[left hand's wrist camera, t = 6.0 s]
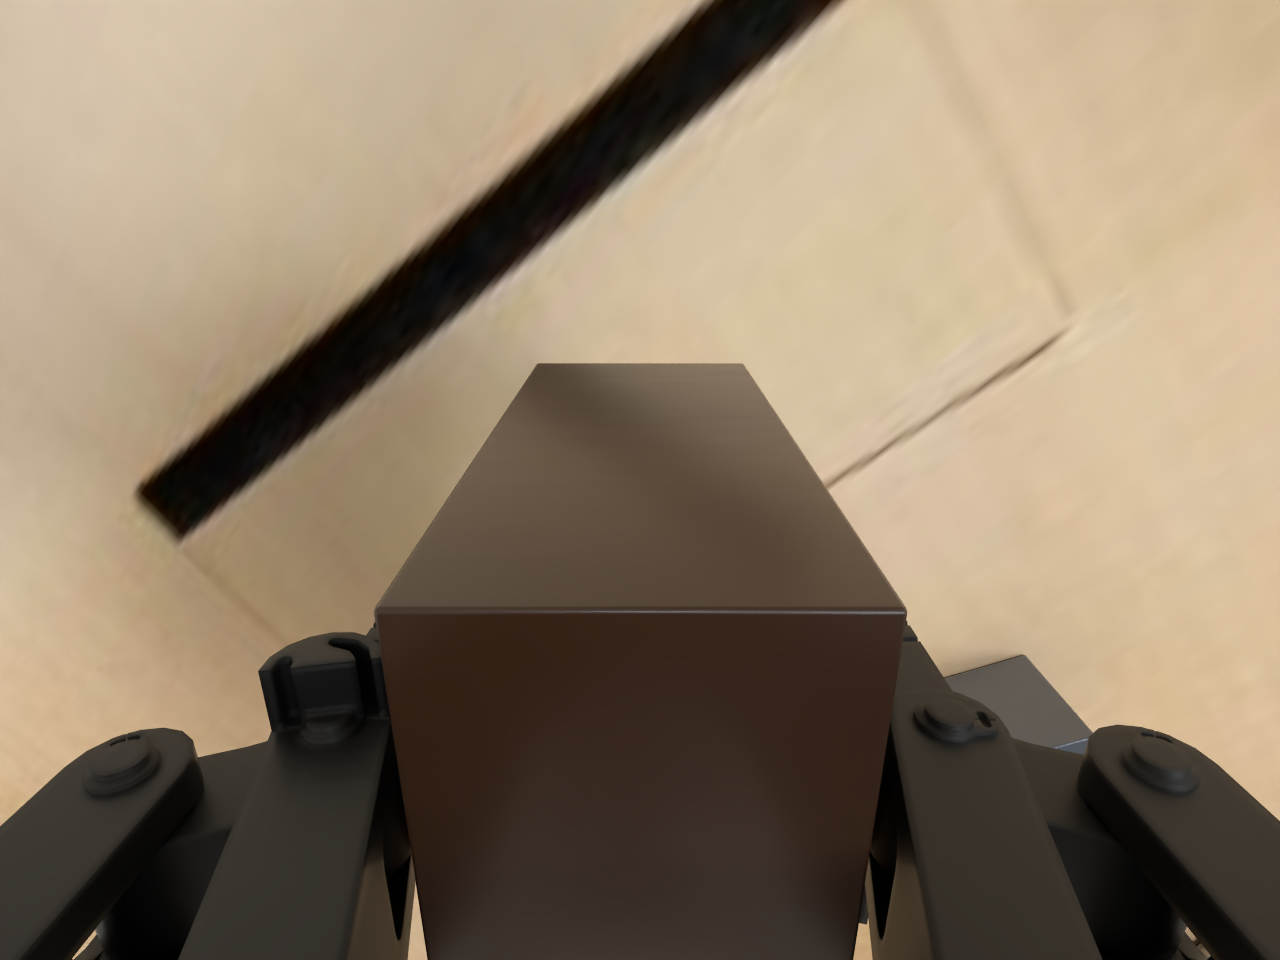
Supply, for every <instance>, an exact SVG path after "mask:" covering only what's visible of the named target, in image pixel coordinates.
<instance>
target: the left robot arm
mask: <svg viewBox="0 0 1280 960" xmlns="http://www.w3.org/2000/svg"><path fill="white" fill-rule="evenodd" d="M258 672H259V677H260V681H261V686H262V690H263V694H264V699H265V703H266V708H267V712H268V716H269V721H270V725H271V730H272V732H271V734H270V737H269V739H268V741H266V742H263V743H259V744H256V745H252V746H249V747H244V748H240V749H235V750H231V751H226V752H221V753H217V754H212V755H207V756H203V757H197V753H196V750H195V746H194V743H193V740H192V739H191V738H190V737H189V736H187V735H186V734H185V733H184V732H183V731H179V730H174V729H168V728H156V729H146V730H139V731H136V732H131V733H128V734H126V735H125V734H124V735H121V736H118V737H115V738H112V739H110V740H109V741H106V742H104V743H102V744H100V745H98V746H96V747H94V748H92V749H90V750H88V751H86V752H85V753H84V754H82V755H81V756H79V757H78V758H77V759H75V760H74V761H73V762H71V763H70V764H69V765H67V766H66V767H64V768H63V769H62V770H61V771H60V772H59V773H58V774H57V775H56V776H55V777H54V778H52V779H51V780H50V781H49V782H48V783H47V784H46V785H45V786H44V787H43V788H42V789H41V790H39V791H38V792H37V793H36V794H35V795H34V796H33V797H32V798H31V799H30V800H29V801H27V802H26V803H25V804H24V805H23V806H22V807H21V808H20V809H19V810H18V811H17V812H16V813H14V814H13V815H12V816H11V817H10V818H9V819H8V820H7V821H6V822H5V823H4V824H2V825H1V826H0V960H72V958H73V956H74V955H75V954H76V953H77V951H78V950H79V949H80V948H81V946H82V945H83V944H84V943H85V941H86V940H87V939H88V938H89V936H90V935H91V934H92V933H93V931H94V930H95V931H96V933H97V935H96V936H95V937H94V939H93V940H92V941H91V942H90V944H89V945H88V946H87V947H86V949H85V950H83V951H82V952H81V953H80V954H79V955H78V956H77V957H76V958H75V959H74V960H407V958H408V949H409V939H410V929H411V919H412V910H413V900H414V890H415V874H414V867H413V861H412V854H411V848H410V841H409V835H408V828H407V822H406V815H405V809H404V802H403V796H402V789H401V783H400V776H399V770H398V763H397V757H396V750H395V744H394V737H393V731H392V724H391V718H390V711H389V705H388V698H387V692H386V686H385V679H384V673H383V666H382V660H381V653H380V647H379V640H378V634H377V627H376V621H375V623H374V627H373V628H371V629H370V631H369V632H368V634H367V635H366V636H365V635H361V634H358V633H354V632H341V633H328V634H323V635H318V636H313V637H309V638H306V639H303V640H301V641H298V642H296V643H293V644H291V645H288V646H286V647H285V648H283V649H282V650H280V651H279V652H277V653H276V654H274V655H273V656H271V657H270V658H269V659H268V660H267V661H266V662H265V664H264V665H263V666H262V667H261V668H260V670H259V671H258ZM868 918H869V928H870V937H871V947H872V957H873V960H1280V821H1279V820H1278V819H1277V818H1276V817H1275V816H1273V815H1272V814H1271V813H1270V812H1269V811H1268V810H1267V809H1266V808H1265V807H1264V806H1262V805H1261V804H1260V803H1259V802H1258V801H1257V800H1256V799H1255V798H1254V797H1253V796H1251V795H1250V794H1249V793H1248V792H1247V791H1246V790H1245V789H1244V788H1243V787H1242V786H1241V785H1239V784H1238V783H1237V782H1236V781H1235V780H1234V779H1233V778H1232V777H1231V776H1230V775H1228V774H1227V773H1226V772H1225V771H1224V770H1223V769H1222V768H1221V767H1220V766H1219V765H1217V764H1216V763H1215V762H1213V761H1212V760H1211V759H1209V758H1208V757H1207V756H1205V755H1204V754H1202V753H1201V752H1200V751H1198V750H1197V749H1196V748H1194V747H1192V746H1190V745H1188V744H1186V743H1183V742H1181V741H1179V740H1177V739H1175V738H1173V737H1171V736H1169V735H1167V734H1164V733H1161V732H1158V731H1157V732H1156V731H1154V730H1150V729H1146V728H1143V727H1135V726H1125V725H1113V726H1108V727H1103V728H1099V729H1097V730H1096V731H1095V732H1094V733H1093V734H1092V735H1091V736H1089V738H1088V741H1087V745H1086V748H1085V752H1084V755H1082V754H1078V753H1073V752H1068V751H1064V750H1059V749H1055V748H1050V747H1045V746H1041V745H1036V744H1032V743H1028V742H1025V741H1021V740H1018V739H1014V738H1012V737H1011V735H1010V733H1009V731H1008V729H1007V728H1006V726H1005V725H1004V723H1003V722H1002V720H1001V719H1000V718H999V716H998V715H997V714H995V713H994V712H993V711H991V710H990V709H989V708H987V707H986V706H985V705H983V704H982V703H981V702H978V701H976V700H974V699H972V698H970V697H967V696H965V695H963V694H961V693H957V692H953V691H952V690H951V688H950V687H949V685H948V684H947V682H946V680H945V679H944V677H943V676H942V674H941V673H940V671H939V670H938V668H937V667H936V665H935V664H934V662H933V661H932V659H931V657H930V656H929V654H928V653H927V651H926V650H925V648H924V647H923V645H922V644H921V642H918V640H917V636H916V634H915V633H914V631H913V630H912V628H911V627H910V626H908V625H907V621H906V623H905V630H904V636H903V642H902V649H901V655H900V662H899V668H898V674H897V681H896V687H895V694H894V700H893V707H892V713H891V719H890V726H889V732H888V739H887V745H886V751H885V758H884V764H883V771H882V777H881V783H880V790H879V796H878V803H877V809H876V816H875V822H874V828H873V835H872V841H871V848H870V854H869V860H868V867H867V873H866V880H865V886H864V892H863V899H862V905H861V912H860V918H859V923H862V924H867V921H868ZM1186 927H1188V928H1189V929H1190V931H1191V932H1192V933H1193V934H1194V935H1195V937H1196V938H1197V939H1198V940H1199V942H1200V943H1201V944H1202V945H1203V947H1204V948H1205V949H1206V950H1207V952H1208V953H1209V954H1210V955H1211V956H1210V957H1207V956H1206V955H1205V954H1204V953H1203V952H1202V951H1201V950H1200V949H1199V948H1198V947H1197V946H1196V945H1195V944H1194V943H1193V941H1192V940H1191V939H1190V938H1189V936H1188V935H1187V934H1186V933H1185V930H1186Z"/></svg>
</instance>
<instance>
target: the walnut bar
mask: <svg viewBox="0 0 1280 960" xmlns="http://www.w3.org/2000/svg"><path fill="white" fill-rule="evenodd" d="M374 614H375V621H376V627H377V634H378V640H379V647H380V653H381V660H382V666H383V673H384V679H385V686H386V692H387V698H388V705H389V711H390V718H391V724H392V731H393V737H394V744H395V750H396V757H397V763H398V770H399V776H400V783H401V789H402V796H403V802H404V809H405V815H406V822H407V828H408V835H409V841H410V848H411V854H412V861H413V867H414V874H415V880H416V887H417V893H418V900H419V906H420V913H421V919H422V926H423V932H424V939H425V945H426V952H427V958H428V960H853V957H854V950H855V944H856V937H857V931H858V925H859V918H860V912H861V905H862V899H863V892H864V886H865V880H866V873H867V867H868V860H869V854H870V848H871V841H872V835H873V828H874V822H875V816H876V809H877V803H878V796H879V790H880V783H881V777H882V771H883V764H884V758H885V751H886V745H887V739H888V732H889V726H890V719H891V713H892V707H893V700H894V694H895V687H896V681H897V674H898V668H899V662H900V655H901V649H902V642H903V636H904V630H905V623H906V617H907V610H906V607H905V606H904V604H903V603H902V601H901V600H900V598H899V597H898V595H897V594H896V592H895V591H894V589H893V588H892V586H891V585H890V583H889V582H888V580H887V579H886V577H885V576H884V574H883V573H882V571H881V570H880V568H879V567H878V565H877V564H876V562H875V561H874V559H873V558H872V556H871V555H870V553H869V552H868V550H867V549H866V547H865V546H864V544H863V543H862V541H861V540H860V538H859V537H858V535H857V534H856V532H855V531H854V529H853V528H852V526H851V525H850V523H849V522H848V520H847V519H846V517H845V516H844V514H843V513H842V511H841V510H840V508H839V507H838V505H837V504H836V502H835V501H834V499H833V498H832V496H831V495H830V493H829V492H828V490H827V489H826V487H825V486H824V484H823V483H822V481H821V480H820V478H819V477H818V475H817V474H816V472H815V471H814V469H813V468H812V466H811V465H810V463H809V462H808V460H807V459H806V457H805V456H804V454H803V453H802V451H801V450H800V448H799V447H798V445H797V444H796V442H795V441H794V439H793V438H792V436H791V435H790V433H789V432H788V430H787V429H786V427H785V426H784V424H783V423H782V421H781V420H780V418H779V417H778V415H777V414H776V412H775V411H774V409H773V408H772V406H771V405H770V403H769V402H768V400H767V399H766V397H765V396H764V394H763V393H762V391H761V390H760V388H759V387H758V385H757V384H756V382H755V381H754V379H753V378H752V376H751V375H750V373H749V372H748V370H747V369H746V367H745V366H744V364H537V365H536V367H535V368H534V370H533V371H532V373H531V374H530V376H529V377H528V379H527V380H526V382H525V383H524V385H523V386H522V388H521V389H520V391H519V392H518V394H517V395H516V397H515V398H514V400H513V401H512V403H511V404H510V406H509V407H508V409H507V410H506V412H505V413H504V415H503V416H502V418H501V419H500V421H499V422H498V424H497V425H496V427H495V428H494V430H493V431H492V433H491V434H490V436H489V437H488V439H487V440H486V442H485V443H484V445H483V446H482V448H481V449H480V451H479V452H478V454H477V455H476V457H475V458H474V460H473V461H472V463H471V464H470V466H469V467H468V469H467V470H466V472H465V474H464V475H463V477H462V478H461V480H460V481H459V483H458V484H457V486H456V487H455V489H454V490H453V492H452V493H451V495H450V496H449V498H448V499H447V501H446V502H445V504H444V505H443V507H442V508H441V510H440V511H439V513H438V514H437V516H436V517H435V519H434V520H433V522H432V523H431V525H430V526H429V528H428V529H427V531H426V532H425V534H424V535H423V537H422V538H421V540H420V541H419V543H418V544H417V546H416V547H415V549H414V550H413V552H412V553H411V555H410V556H409V558H408V559H407V561H406V562H405V564H404V565H403V567H402V568H401V570H400V571H399V573H398V574H397V576H396V577H395V579H394V580H393V582H392V583H391V585H390V586H389V588H388V589H387V591H386V592H385V594H384V595H383V597H382V598H381V600H380V601H379V603H378V604H377V606H376V607H375V611H374Z"/></svg>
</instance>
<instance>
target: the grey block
mask: <svg viewBox="0 0 1280 960" xmlns="http://www.w3.org/2000/svg"><path fill="white" fill-rule="evenodd" d="M944 679H945V680H946V682H947V684H948V685H949V687H950V688H951V690H952V691H953V692H957V693H961V694H963V695H965V696H967V697H970V698H972V699H974V700H976V701H978V702H981V703H982V704H983V705H985V706H986V707H987V708H989V709H990V710H991V711H993V712H994V713H995V714H997V715H998V716H999V718H1000V719H1001V720H1002V722H1003V723H1004V725H1005V726H1006V728H1007V729H1008V731H1009V733H1010V735H1011V737H1012V738H1014V739H1018V740H1021V741H1025V742H1028V743H1032V744H1036V745H1041V746H1045V747H1050V748H1055V749H1059V750H1064V751H1068V752H1073V753H1078V754H1082V755H1084V752H1085V748H1086V745H1087V741H1088V738H1089V736H1091V735H1092V734H1093V732H1092V731H1091V730H1090V729H1089V728H1088V727H1087V725H1086V724H1085V723H1084V722H1083V721H1082V720H1081V719H1080V717H1079V716H1078V715H1077V714H1076V713H1075V712H1074V711H1073V709H1072V708H1071V707H1070V706H1069V705H1068V704H1067V703H1066V701H1065V700H1064V699H1063V698H1062V697H1061V696H1060V695H1059V693H1058V692H1057V691H1056V690H1055V689H1054V688H1053V687H1052V685H1051V684H1050V683H1049V682H1048V681H1047V680H1046V679H1045V677H1044V676H1043V675H1042V674H1041V673H1040V672H1039V671H1038V669H1037V668H1036V667H1035V666H1034V665H1033V664H1032V663H1031V661H1030V660H1029V659H1028V658H1027V657H1026V656H1025V655H1022V656H1019V657H1016V658H1012V659H1009V660H1005V661H1002V662H998V663H995V664H991V665H988V666H984V667H981V668H978V669H974V670H971V671H967V672H964V673H960V674H957V675H953V676H950V677H947V678H944Z"/></svg>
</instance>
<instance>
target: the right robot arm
mask: <svg viewBox="0 0 1280 960" xmlns="http://www.w3.org/2000/svg"><path fill="white" fill-rule="evenodd" d="M1197 947H1198V948H1199V949H1200V950H1201V951H1202V952H1203V953H1204V954H1205V955H1206V956H1207V957H1210V956H1211V955H1210V954H1209V953H1208V952H1207V950H1206V949H1205V948H1204V947H1203V945H1202V944H1201V943H1200V944H1199V945H1198V946H1197Z"/></svg>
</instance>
